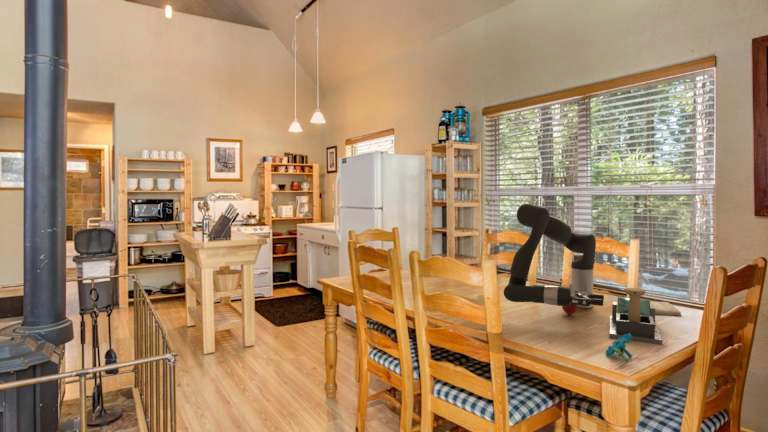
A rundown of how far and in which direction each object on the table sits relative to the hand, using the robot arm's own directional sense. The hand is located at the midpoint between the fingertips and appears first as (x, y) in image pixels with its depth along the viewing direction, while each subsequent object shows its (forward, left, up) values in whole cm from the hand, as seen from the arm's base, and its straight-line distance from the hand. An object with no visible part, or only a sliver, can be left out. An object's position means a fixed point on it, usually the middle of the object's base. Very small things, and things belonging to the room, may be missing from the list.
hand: (603, 300), depth 169 cm
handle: (+10, +2, -10) cm, 14 cm away
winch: (+9, +8, -11) cm, 17 cm away
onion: (-16, +15, -12) cm, 25 cm away
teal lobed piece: (+10, -26, -12) cm, 30 cm away
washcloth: (+14, +48, -12) cm, 51 cm away
